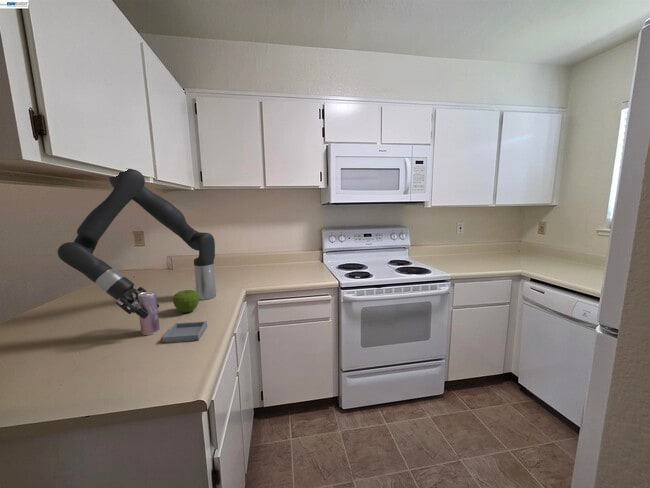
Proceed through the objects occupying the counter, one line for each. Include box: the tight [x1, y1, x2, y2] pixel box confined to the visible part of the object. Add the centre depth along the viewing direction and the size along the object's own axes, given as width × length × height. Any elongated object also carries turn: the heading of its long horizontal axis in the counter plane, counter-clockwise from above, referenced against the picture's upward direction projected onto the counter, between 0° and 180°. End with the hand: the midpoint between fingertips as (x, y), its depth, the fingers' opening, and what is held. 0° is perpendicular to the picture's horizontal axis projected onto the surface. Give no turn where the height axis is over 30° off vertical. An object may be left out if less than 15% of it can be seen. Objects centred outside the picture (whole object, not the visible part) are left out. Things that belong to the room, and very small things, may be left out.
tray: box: [161, 320, 208, 344], centre depth 103 cm, size 12×12×2 cm
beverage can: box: [137, 290, 160, 336], centre depth 104 cm, size 6×6×15 cm
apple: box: [172, 289, 200, 313], centre depth 124 cm, size 11×10×10 cm
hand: (152, 312), depth 104 cm, fingers open, 8 cm apart
